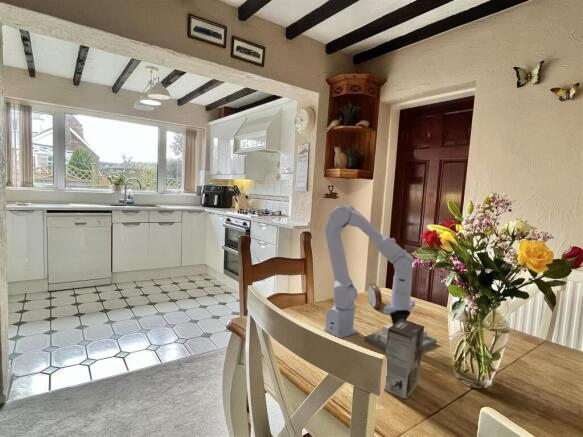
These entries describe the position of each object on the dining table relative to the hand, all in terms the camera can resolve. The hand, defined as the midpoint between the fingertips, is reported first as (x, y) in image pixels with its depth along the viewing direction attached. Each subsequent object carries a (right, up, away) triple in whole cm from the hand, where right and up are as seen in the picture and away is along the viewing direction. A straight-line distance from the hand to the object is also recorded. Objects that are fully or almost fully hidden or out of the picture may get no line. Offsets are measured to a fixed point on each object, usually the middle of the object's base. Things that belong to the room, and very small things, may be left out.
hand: (397, 331), depth 108 cm
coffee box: (-7, -7, -23) cm, 25 cm away
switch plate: (+2, -4, +2) cm, 5 cm away
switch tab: (-3, -3, -2) cm, 4 cm away
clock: (+1, -1, +37) cm, 37 cm away
